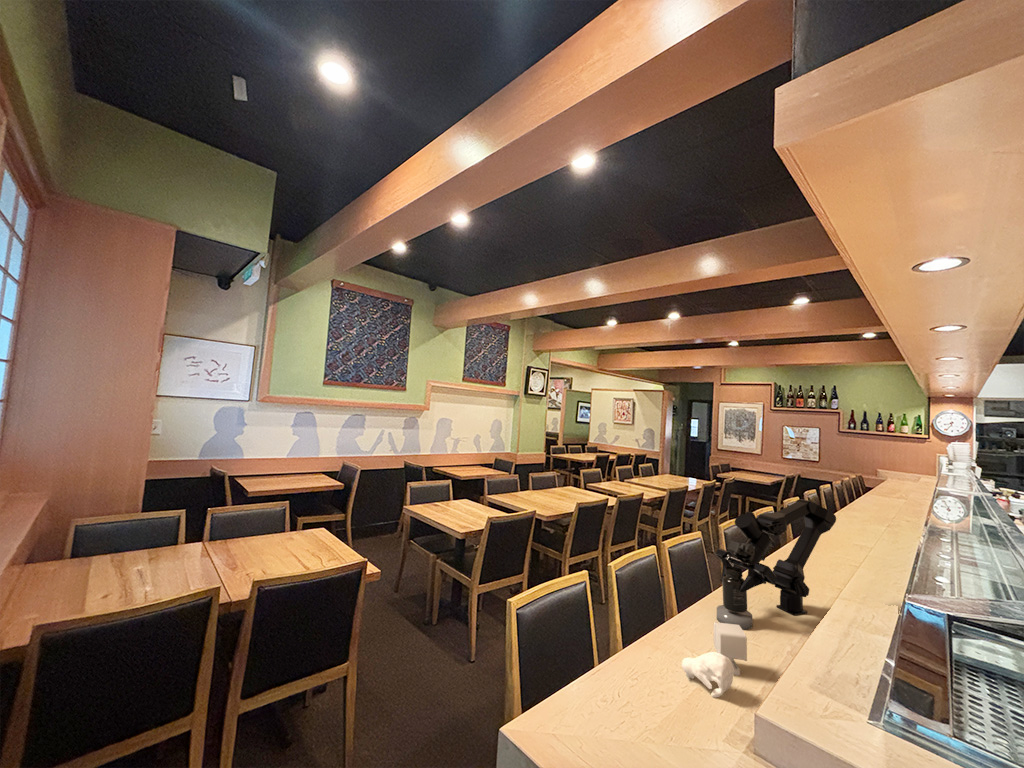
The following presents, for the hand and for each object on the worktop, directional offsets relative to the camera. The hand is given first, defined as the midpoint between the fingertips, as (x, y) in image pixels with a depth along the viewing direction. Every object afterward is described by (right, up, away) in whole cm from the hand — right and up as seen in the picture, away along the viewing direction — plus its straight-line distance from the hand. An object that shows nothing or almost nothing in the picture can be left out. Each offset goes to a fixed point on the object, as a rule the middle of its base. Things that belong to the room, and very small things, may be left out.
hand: (731, 587), depth 133 cm
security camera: (-14, -9, -25) cm, 30 cm away
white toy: (-23, -8, -33) cm, 41 cm away
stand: (+1, -11, 0) cm, 11 cm away
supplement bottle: (+1, -7, 0) cm, 7 cm away
